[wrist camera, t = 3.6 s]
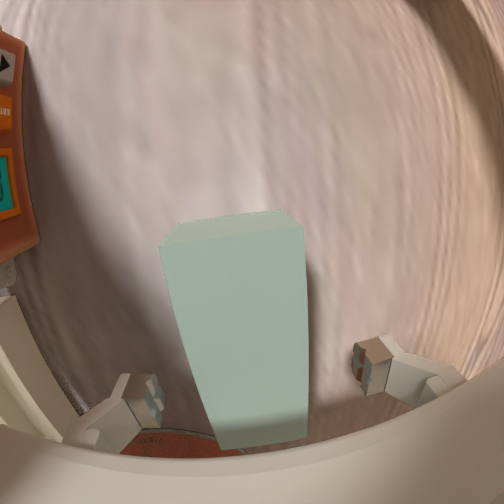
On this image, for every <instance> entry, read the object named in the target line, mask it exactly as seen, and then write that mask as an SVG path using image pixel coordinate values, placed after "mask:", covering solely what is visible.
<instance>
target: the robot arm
mask: <svg viewBox="0 0 504 504" xmlns="http://www.w3.org/2000/svg"><path fill="white" fill-rule="evenodd" d="M353 352H354V353H355V356H354V357H353V359H352V370H353V374H354V376H355V378H356V379H357V380H359V381H361V388H362V390H363V392H364V393H365V395H366V397H367V396H370V395H373V394H377V393H380V392H383V391H385V392H386V393H388V394H390V395H391V396H393V397H395V398H397V399H399V400H400V401H402V402H404V403H406V404H408V405H410V406H411V407H413V408H415V409H413V410H411V411H409V412H407V413H404V414H402V415H400V416H397V417H395V418H392V419H390V420H387V421H385V422H382V423H379V424H377V425H374V426H371V427H368V428H365V429H362V430H359V431H356V432H353V433H350V434H347V435H343V436H340V437H336V438H333V439H329V440H325V441H321V442H317V443H313V444H309V445H304V446H300V447H295V448H290V449H284V450H279V451H272V452H266V453H259V454H251V455H242V456H231V457H216V458H157V457H142V456H132V455H123V454H119V453H120V452H121V451H122V450H123V449H124V448H125V447H126V446H127V445H128V444H129V442H130V441H131V440H132V439H133V438H134V437H135V436H136V435H137V434H138V433H139V432H140V430H141V429H142V428H161V423H162V418H163V416H162V414H161V411H162V410H163V409H164V408H165V395H164V391H163V389H162V387H160V386H159V385H157V384H158V381H159V380H158V378H157V376H156V374H154V373H122V374H120V376H119V378H118V380H117V383H116V385H115V387H114V389H113V392H112V394H111V396H110V398H106V399H105V400H103V401H102V402H100V403H99V404H98V405H96V406H95V407H93V408H92V409H91V410H89V411H88V412H86V413H85V414H84V415H82V416H81V417H79V418H78V419H76V420H75V421H74V422H72V423H71V424H70V425H69V427H68V429H67V431H66V433H65V435H64V438H63V440H62V442H61V443H60V442H56V441H52V440H49V439H45V438H42V437H39V436H36V435H33V434H30V433H27V432H24V431H21V430H18V429H16V428H13V427H11V426H8V425H5V424H0V504H504V357H502V358H501V359H500V360H498V361H497V362H496V363H494V364H493V365H491V366H490V367H488V368H487V369H485V370H484V371H482V372H481V373H479V374H478V375H476V376H475V377H473V378H472V379H470V380H468V381H467V380H466V379H465V378H464V377H463V376H462V375H461V374H460V373H459V372H458V371H457V370H456V368H455V367H454V366H451V365H448V364H444V363H441V362H438V361H434V360H431V359H428V358H425V357H421V356H418V355H415V354H412V353H405V352H404V351H403V350H402V349H401V348H400V347H399V345H398V344H397V343H396V342H395V341H394V340H393V339H392V338H391V337H390V336H389V335H388V334H383V335H380V336H377V337H374V338H371V339H368V340H364V341H360V342H357V343H355V344H354V346H353Z"/></svg>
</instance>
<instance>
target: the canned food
mask: <svg viewBox="0 0 504 504" xmlns="http://www.w3.org/2000/svg"><path fill="white" fill-rule="evenodd" d="M119 454H123V455H132V456H142V457H157V458H216V457H231V456H242V455H248V454H247V453H246V452H245V451H244V450H242V449H241V448H240V449H229V450H221V448H220V446H219V444H218V441H217V439H216V437H214V436H210V435H206V434H202V433H197V432H192V431H185V430H177V429H146V430H140V432H139V433H138V434H137V435H136V436H135V437H134V438H133V439H132V440H131V441H130V442H129V444H128V445H127V446H126V447H125V448H124V449H123V450H122V451H121V452H120V453H119Z"/></svg>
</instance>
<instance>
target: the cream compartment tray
mask: <svg viewBox="0 0 504 504" xmlns="http://www.w3.org/2000/svg"><path fill="white" fill-rule="evenodd" d="M79 417H80V416H79V414H78V413H77V412H76V410H75V409H74V407H73V406H72V404H71V403H70V402H69V400H68V399H67V397H66V395H65V394H64V392H63V391H62V389H61V388H60V386H59V384H58V383H57V381H56V379H55V378H54V376H53V374H52V373H51V371H50V369H49V367H48V365H47V364H46V362H45V360H44V358H43V356H42V354H41V352H40V350H39V348H38V346H37V344H36V342H35V340H34V338H33V336H32V334H31V332H30V330H29V327H28V325H27V323H26V321H25V318H24V316H23V313H22V311H21V308H20V306H19V303H18V301H17V298H16V295H13V296H4V297H0V424H5V425H8V426H11V427H13V428H16V429H18V430H21V431H24V432H27V433H30V434H33V435H36V436H39V437H42V438H45V439H49V440H52V441H56V442H60V443H61V442H62V440H63V438H64V435H65V433H66V431H67V429H68V427H69V425H70V424H71V423H72V422H74V421H75V420H76V419H78V418H79Z"/></svg>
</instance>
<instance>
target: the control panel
mask: <svg viewBox="0 0 504 504" xmlns="http://www.w3.org/2000/svg"><path fill="white" fill-rule="evenodd" d="M25 46H26V45H25V43H24V42H23V41H21V40H19V39H17V38H15V37H13V36H11V35H9V34H7V33H5V32H3V31H2V27H1V26H0V289H1V288H5V287H9V286H12V285H13V284H14V282H15V281H16V279H17V273H16V268H15V263H14V257H15V256H16V255H18V254H20V253H22V252H24V251H26V250H28V249H30V248H32V247H34V246H36V245H37V244H38V243H39V242H40V236H39V233H38V229H37V225H36V221H35V216H34V212H33V207H32V202H31V197H30V192H29V186H28V180H27V173H26V166H25V158H24V148H23V135H22V76H23V63H24V54H25Z"/></svg>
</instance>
